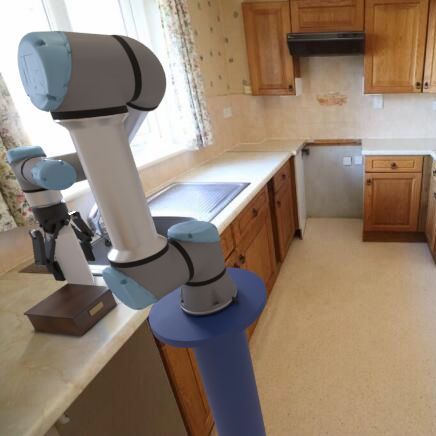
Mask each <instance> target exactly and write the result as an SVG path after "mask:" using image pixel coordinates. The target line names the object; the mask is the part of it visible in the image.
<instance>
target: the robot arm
mask: <svg viewBox="0 0 436 436" xmlns="http://www.w3.org/2000/svg"><path fill="white" fill-rule="evenodd" d="M17 47H18V48H17V68H18V74H19V77H20V80H21V83H22V87H23V89H24V91H25V93H26V96H27V97H28V98H29V100H30V103H31V104H32V105H33V106H34V107H35V108H36V109H37V110H39V111H42V112H46V113H50V116H51V118H52V121H53V122H54V123H56V124H58V125H59V126H61V127H62V128H65V129H66V130H67V131H68V133H69V136H70V138H71V141H72V143H73V146H74V149H75V151H74V152H70V153H65V154H60V155H55V156H54V155H53V156H49V157H47V154H46V153H45V150H44V149H43V147H42V146H39V145H26V146H25V145H24V146H19V147H13V148H10V149H7V150H6V152H5V156H6V159H7V162H8V166H10V167H11V170H12V172H13V174H14V176H15V178H16V181H17V182H18V185H19V187H20V189H21V191H22V193H23V195H24V198H25V199H26V202H27V204H28V205H29V207H30V211H31V213H32V214H33V216H34V219H35V220H36V221H37V222H38V227H37V228H34V229H29V230H28V232H27V233H28V235H29V237H30V238H31V244H32V251H33V260H34V264H35V265H36V266H37V265H38V266H45V267H46V270H47V272H48V273H49V274H52V276H53V278H54V280H55V281H56V282H65V281H67V280H66V278H65V276H64V274H63V272H62V270H61V268H60V265H59V263H58V261H57V260H55V247H56V241H55V239H57V238H58V237H57V236H58V234H59V231H60V230H61V229H62V228H63V227H64V226H65V225H66V226H68V224H69V222H70V224H71V227H72V229H73V230H74V232H75V234H76V236H77V239H78V241H79V243H80V246H81V248H82V251H83V253H84V255H85V258H86V260H87V262H95V261H96V257H95V255H94V252H93V249H94V248H93V245H92V242H93V240H94V239H93V238H94V237H95V233H94V231H92V229H91V228H90V227H89V225H88V224H87V223H86V222H85V220H84V219H83V217H82V216H81V215H82V214H81V213H80V211H77V210H76V211H75V210H73V211H72V210H71V211H69V209H68V206H67V204H66V203H67V202H66V201H65V200H64V196H63V194H62V191H66V190H68V189H69V188H71V187H72V186H73V185H74V184H77V183H80V182H84V181H87V183H88V186H89V188H90V191H91V194H92V196H93V199H94V201H95V204H96V207H97V209H98V212H99V214H100V217H101V220H102V222H103V225H104V227H105V230H106V232H107V235H108V238H109V240H110V243H111V245H112V246H111V248H110V249H109V251H108V252H107V254H106V256H107V259H108V262H109V266H106V267H105V268H104V269H103V270H102V272H101V274H102V279H103V281H104V283H105V284H106V286H108V287H109V289H110V290H111V291H112V293H113V296H114V297H115V298H116V299H118V300H119V301H120V303H122V304H123V305H125V306H126V307H127V308H129V309H132V310H134V311H142V310H145V309H146V308H148V307H150V306H152V305H153V303H157V302H158V300H160V299H161V298H163V297H165V296H166V295H168V294H169V293H171V292H172V291H174V290H176V289H177V288H179V287H180V286H181V291H180V306H181V309H182V311H183V312H184V313H185V314H186V315H188V316H191V317H208V316H212V315H216V314H218V313H220V312H222V311H224V310H226V309H227V308H229V307H230V306H231V305H232V304H233V303H234V302H236V303H238V302H239V300H238V299H237V296H238V291H237V286H236V284H235V282H234V281H233V280H232V278H231V277H230V275H229V273H228V272H227V270H226V268H227V267H226V262H225V256H224V252H223V248H222V241H221V240H222V239H221V236H220V233H219V229H218V227H217V226H216V225H215V224H214V223H212V222H210V221H205V220H189V221H183V222H178V223H176V224H174V225H172V226H169V228H168V229H167V234H166V235H167V237H168V238H167V237H166V236H164V235H162V234H159V233H158V232H157V229H156V225H155V222H154V217H153V215H152V212H151V209H150V206H149V202H148V200H147V197H146V194H145V190H144V187H143V183H142V181H141V177H140V174H139V171H138V167H137V164H136V161H135V158H134V154H133V152H132V151H133V150H132V148H131V144H132V142H133V140H134V139H135V137H136V136H137V133H138V131H139V130H140V128H141V127H142V124H143V123H144V121H145V120H146V118H147V116H148V114H149V113H151V112H154V111H155V110H157V109H158V108H159V106H160V104H161V103H162V101H163V100H164V97H165V94H166V91H167V77H166V76H167V75H166V72H165V69H164V66H163V64H162V63H161V61H160V59H159V57H158V56H157V55H156V54H155V52H153V50H151V48H149V47H148V46H147V45H145V44H144V43H142V42H141V41H139V40H137V39H135V38H133V37H130V36H127V35H123V34H102V33H91V32H90V33H89V32H78V31H77V32H76V31H66V30H65V31H64V30H48V31H46V30H45V31H42V30H41V31H30V32H28V33H26V34H25V35H23V36H22V37H21V39H20V41H19V43H18V46H17ZM68 220H69V221H68ZM71 221H72V222H73V224H72V222H71ZM46 233H48V234H52V235H53V236H49V237H50V238H51V239H50V241H49V242H48V240H47V237H46Z"/></svg>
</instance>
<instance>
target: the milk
mask: <svg viewBox="0 0 436 436" xmlns="http://www.w3.org/2000/svg"><path fill="white" fill-rule="evenodd" d="M68 221H69V220H68ZM70 223H71V221H70V222H69V224H68V226H66V225H65V226H64V227H63V228H62V229H61V230H60V231H59V234H58V236H57V237H58V238H57V239H55V241H56V247H55V255H54V258H55V259H56V261H57V262H58V264H59V266H60V268H61V270H62V272H63V274H64V277H65V279H66V280H65V281H66V282H67V283H70V284H83V285H95V286H96V281H95V277H94V275H93V271H92V270H91V268H90V265H89V261H87V260H86V258H85V255H84V253H83V251H82V248H81V246H80V240H79V239H78V238H77V236H76V234H75V232H74V230H73V229H72V227H71V224H72V223H71V224H70ZM49 236H53V235H52V234H48V233H46V237H47V240H48V242H49V241H50V239H51V238H50V237H49ZM67 283H66V284H67Z"/></svg>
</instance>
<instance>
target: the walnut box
mask: <svg viewBox="0 0 436 436" xmlns="http://www.w3.org/2000/svg"><path fill="white" fill-rule="evenodd" d="M115 298H116V297H115V295H114V294H113V293H112V291H111V290H110V289H109V287H108V286H107V285H96V284H95V285H83V284H70V283H66V284H64V285H63V286H62V287H60V288H59V289H57V290H55V291H54V292H52V293H51V294H49V295H48V296H46V297H45V298H44V299H42V300H40V301H39V302H37V303H36V304H35V305H34V306H32V307H30V308H29V309H28V310H26V311H24V312H23V315H24V316H26V317H27V318H28V320H29V322H30V324H31V325H32V327H33V328H34V331H36V332H44V333H45V332H46V333H53V334H62V335H64V334H65V335H73V336H81V337H82V336H83V335H84V334H85V333H86V332H87V331H89V329H92V327H93V326H94V325H96V324H97V322H99V321H100V320H102V318H103V317H104V316H106V315H107V314H108V313H109V312H110V311H111V310H112V309H113V308H115V307H116V306H117V305H118V304H117V301H116V299H115Z"/></svg>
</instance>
